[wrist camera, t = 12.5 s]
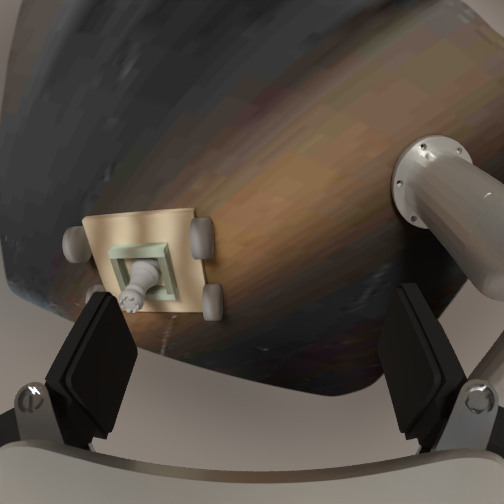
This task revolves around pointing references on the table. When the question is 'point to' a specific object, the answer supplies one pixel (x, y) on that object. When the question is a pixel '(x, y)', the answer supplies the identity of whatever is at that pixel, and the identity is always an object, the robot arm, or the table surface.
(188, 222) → the car chassis
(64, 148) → the table surface
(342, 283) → the table surface
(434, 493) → the robot arm
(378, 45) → the table surface
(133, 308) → the rook chess piece
